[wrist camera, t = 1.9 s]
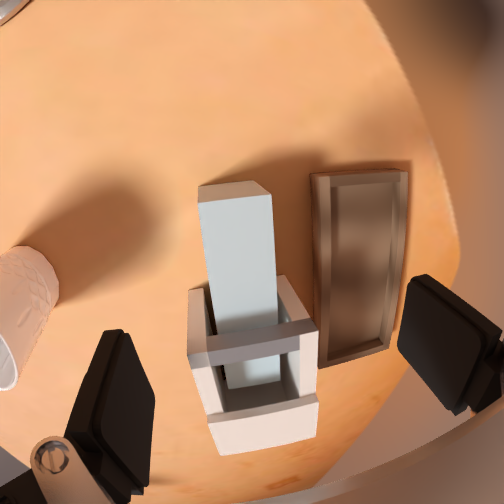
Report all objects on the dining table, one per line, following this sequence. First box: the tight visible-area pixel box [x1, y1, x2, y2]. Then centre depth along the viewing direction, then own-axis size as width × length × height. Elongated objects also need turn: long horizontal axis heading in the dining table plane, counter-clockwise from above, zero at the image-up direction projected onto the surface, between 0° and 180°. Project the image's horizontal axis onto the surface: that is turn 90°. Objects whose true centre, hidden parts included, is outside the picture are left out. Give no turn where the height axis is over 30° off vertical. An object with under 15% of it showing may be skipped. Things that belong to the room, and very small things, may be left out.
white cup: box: [0, 246, 59, 391], centre depth 16 cm, size 8×8×10 cm
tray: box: [310, 169, 408, 369], centre depth 25 cm, size 18×8×2 cm, turn 6°
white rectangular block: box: [198, 180, 280, 389], centre depth 21 cm, size 14×4×6 cm, turn 5°
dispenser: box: [187, 275, 319, 456], centre depth 22 cm, size 12×8×9 cm, turn 6°
